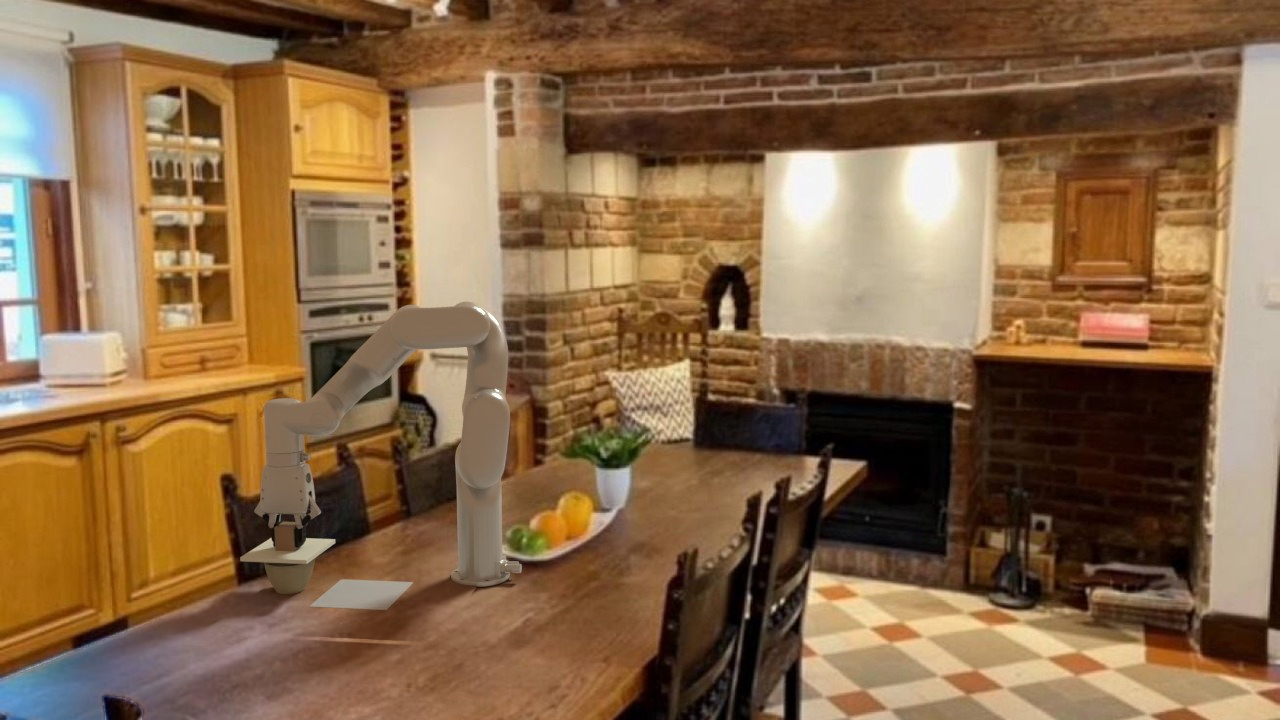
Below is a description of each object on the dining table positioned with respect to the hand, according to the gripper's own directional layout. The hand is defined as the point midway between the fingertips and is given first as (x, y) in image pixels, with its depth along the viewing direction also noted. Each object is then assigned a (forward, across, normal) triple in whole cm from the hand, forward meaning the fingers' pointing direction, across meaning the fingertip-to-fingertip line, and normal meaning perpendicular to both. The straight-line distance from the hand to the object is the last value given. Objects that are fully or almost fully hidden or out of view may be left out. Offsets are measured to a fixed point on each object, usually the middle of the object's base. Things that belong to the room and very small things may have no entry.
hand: (289, 544), depth 210 cm
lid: (+2, 0, 0) cm, 2 cm away
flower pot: (+10, 0, 0) cm, 10 cm away
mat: (+10, -16, +1) cm, 19 cm away
